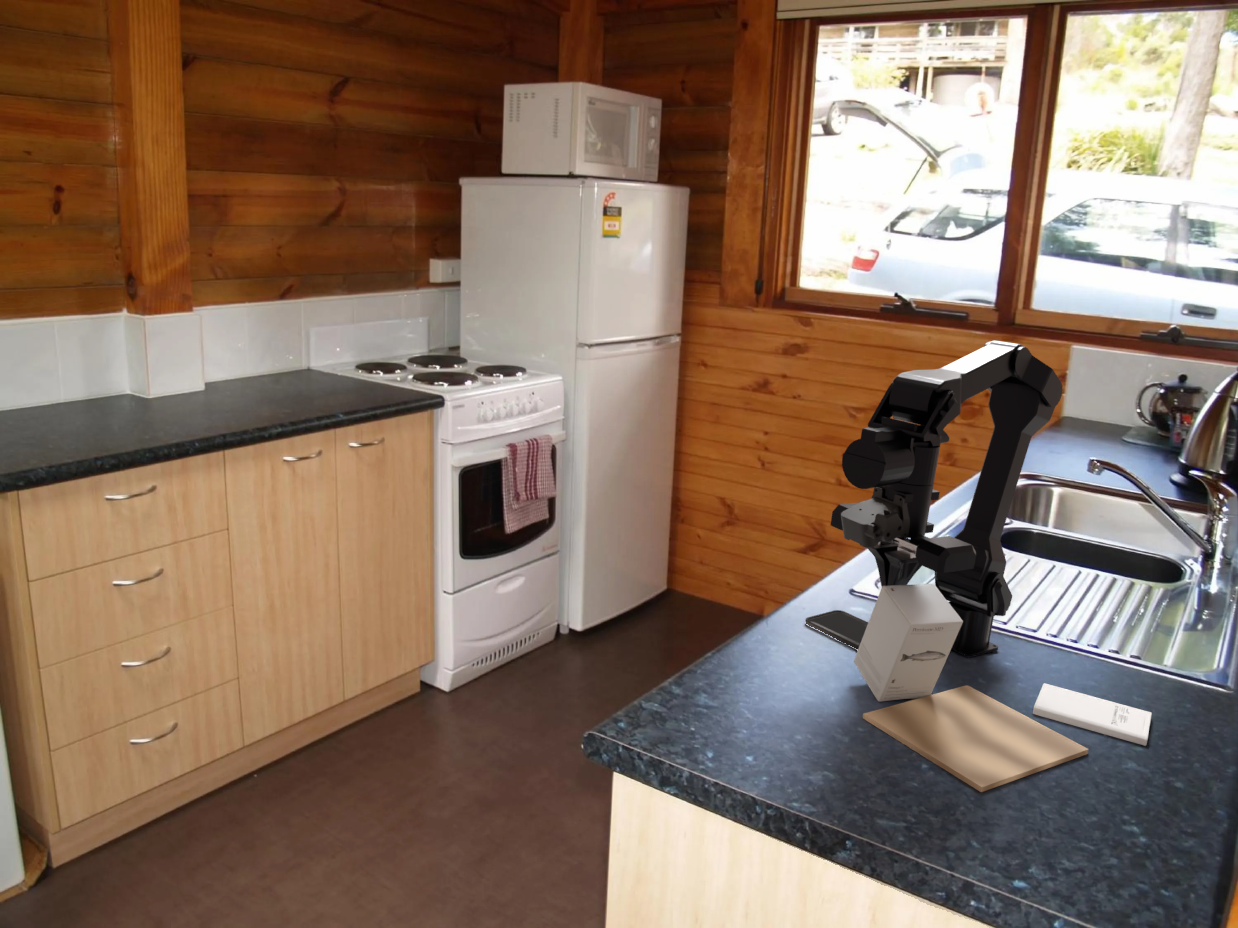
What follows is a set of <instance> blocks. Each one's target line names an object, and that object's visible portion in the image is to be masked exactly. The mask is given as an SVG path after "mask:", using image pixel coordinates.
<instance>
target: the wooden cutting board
mask: <svg viewBox="0 0 1238 928" xmlns="http://www.w3.org/2000/svg"><path fill="white" fill-rule="evenodd" d="M862 719H863V720H864V721H866V722H868V723H870V724H871V725H873V726H875V727H876V728H877V729H879V730H881V731H882V732H884V733H886V734H888V735H889V736H890V737H892V738H893V739H894V740H896V741H898V742H900V743H901V744H903V745H905V746H906V747H908V748H910V750H912V751H914V752H916V753H918V754H919V755H920V756H922V757H924V758H925V759H927V760H928V761H930V762H932V763H933V764H935V765H937V766H938V767H940V768H941V769H943V770H945V771H946V772H948V774H951V775H952V776H953V777H956V778H957V779H959V780H960V781H962V782H963V783H966V784H967V785H969V786H970V787H972V788H973V789H974V790H976V791H979V792H980V793H985V792H986V791H989V790H992V789H994V788H998V787H1000V786H1003V785H1006V784H1008V783H1011V782H1014V781H1016V780H1019V779H1022V778H1024V777H1028V776H1031V775H1034V774H1036V773H1038V772H1042V771H1045V770H1047V769H1049V768H1053V767H1055V766H1058V765H1061V764H1063V763H1066V762H1069V761H1072V760H1074V759H1077V758H1080V757H1083V756H1087V755H1088V754H1089V748H1087V747H1085V746H1084V745H1081V744H1080V743H1077V742H1076V741H1074V740H1072V739H1070V738H1068V737H1067V736H1065V735H1063V734H1061V733H1058V732H1057V731H1055V730H1053V729H1051V728H1049V727H1047V726H1046V725H1044V724H1041V723H1039V722H1037V721H1036V720H1034V719H1033V718H1031V717H1028V716H1027V715H1024V714H1022V713H1021V712H1019V711H1017V710H1015V709H1014V708H1011V706H1010V707H1009V706H1008V705H1006V704H1004V703H1002V702H1000V701H998V700H996V699H994V698H993V697H990V696H988V695H986V694H984V693H983V692H981V691H979V690H977V689H976V688H973V687H972V686H970V685H962V686H958V687H956V688H951V689H948V690H944V691H941V692H937V693H933V694H931V695H929V696H926V697H922V698H914V699H910V700H908V701H905V702H901V703H897V704H894V705H890V706H886V707H882V708H878V709H875V710H870V711H868V712H864V713H862Z"/></svg>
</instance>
